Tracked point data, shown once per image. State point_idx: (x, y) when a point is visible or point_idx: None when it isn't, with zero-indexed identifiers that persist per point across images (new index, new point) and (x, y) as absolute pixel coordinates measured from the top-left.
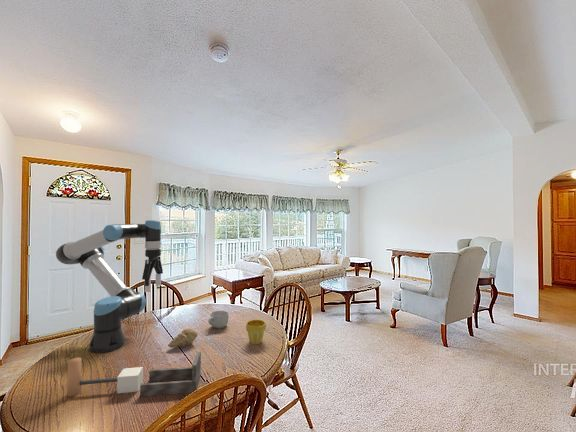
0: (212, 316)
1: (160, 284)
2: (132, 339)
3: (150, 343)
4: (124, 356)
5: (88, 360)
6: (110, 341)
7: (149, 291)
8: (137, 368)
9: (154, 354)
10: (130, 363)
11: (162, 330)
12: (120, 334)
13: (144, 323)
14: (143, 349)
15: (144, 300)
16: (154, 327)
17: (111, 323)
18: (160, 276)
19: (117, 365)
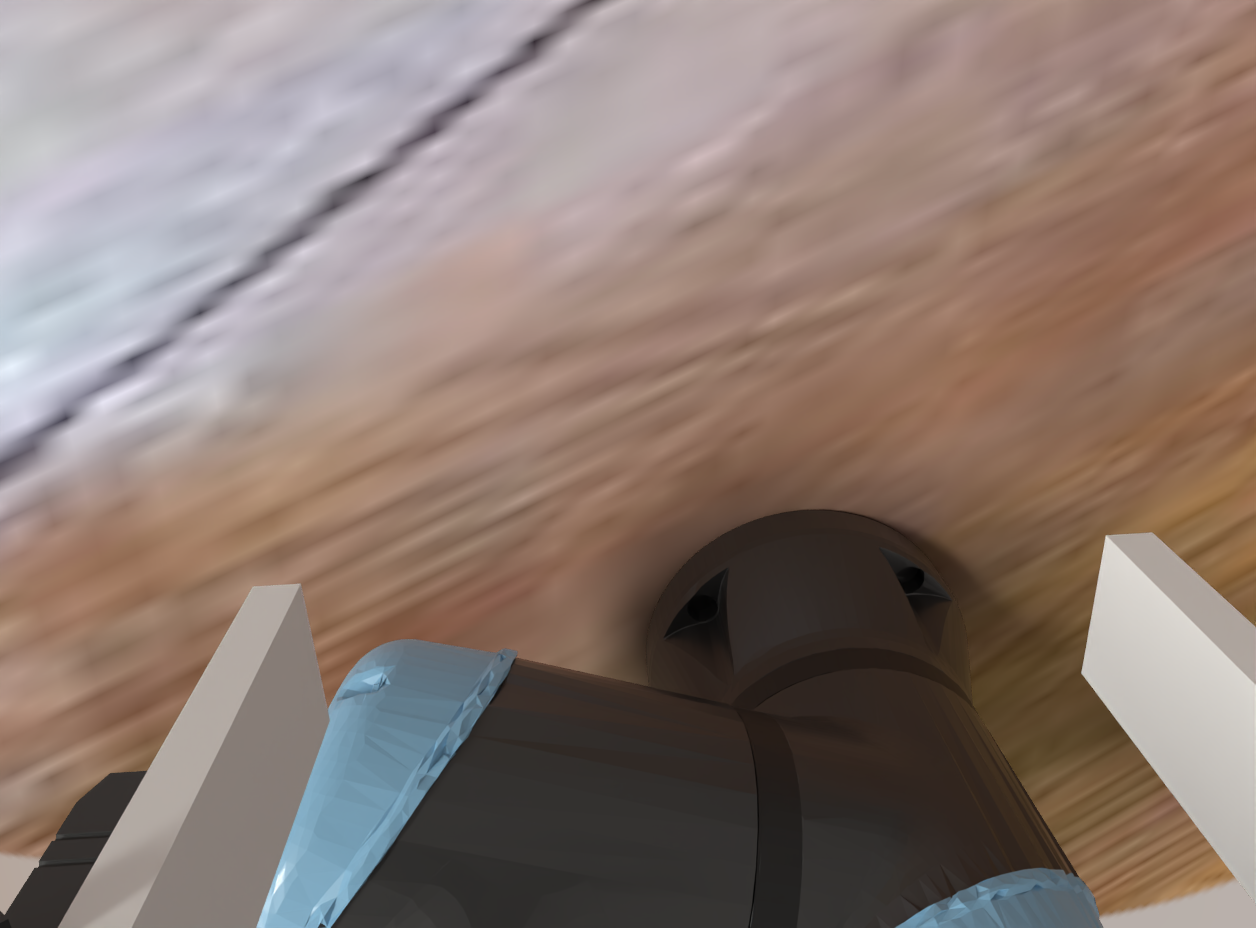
0: None
1: (290, 609)
2: (643, 495)
3: (759, 235)
4: (1059, 363)
5: (1083, 632)
6: (940, 615)
7: (1161, 557)
8: None
9: (1069, 41)
10: (1233, 219)
11: (350, 263)
12: (839, 595)
13: (156, 597)
14: (917, 242)
15: (389, 719)
16: (264, 416)
17: (993, 746)
18: (178, 831)
19: (1244, 329)
